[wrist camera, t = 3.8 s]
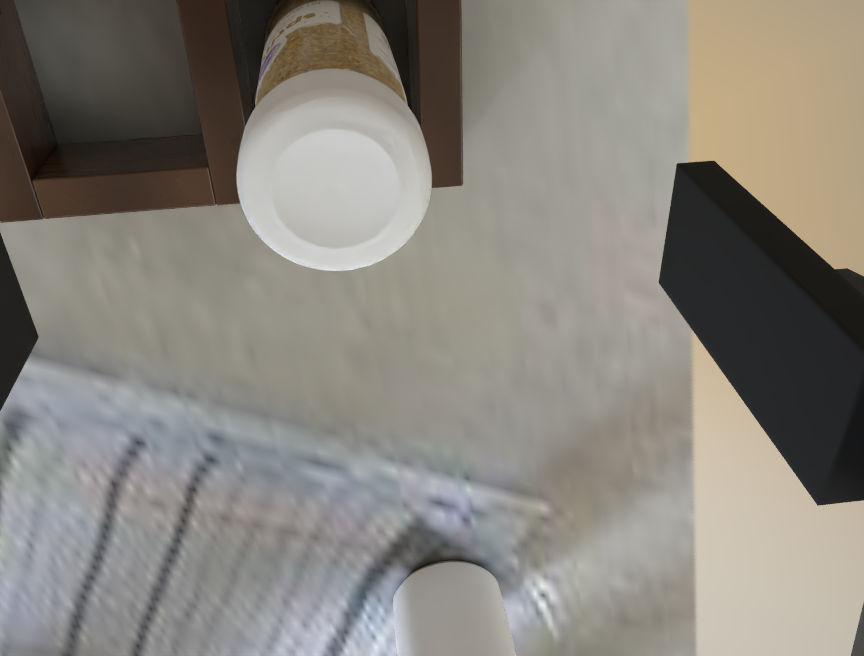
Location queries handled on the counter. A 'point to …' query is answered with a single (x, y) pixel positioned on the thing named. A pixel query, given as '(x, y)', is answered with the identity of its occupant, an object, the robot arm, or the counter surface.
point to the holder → (219, 117)
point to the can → (451, 612)
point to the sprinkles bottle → (332, 140)
